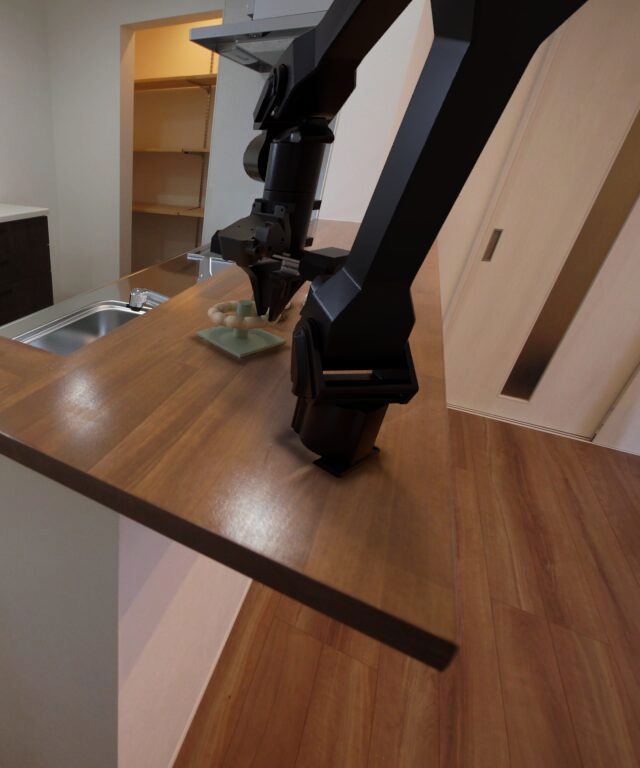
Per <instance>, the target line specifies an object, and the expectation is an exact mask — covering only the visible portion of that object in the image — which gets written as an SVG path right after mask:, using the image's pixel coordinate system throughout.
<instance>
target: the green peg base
mask: <svg viewBox="0 0 640 768" xmlns="http://www.w3.org/2000/svg"><path fill="white" fill-rule="evenodd" d="M237 301H238V305H237V312H235V313H236V314H235V316H239V317H251V312H252V306H253V302H251V300H248V299H240V300H237ZM195 335H196V336H197V337H200V338H202V339H203V340H205V341H207V342H209V343H211V344H213V345H215V346H217V347H219V348H221V349H222V350H224V351H226V352H228V353H230V354H232V355H234V356H236V357H238V358H239V359H240V358H244V357H247V356H249V355H253V354H255V353H256V354H257V353H260V352H262V351H265V350H268V349H273V348H275V347H278V346H281V345H284V344H286V343H287V340H286V339H285V338H283V337H280V336H278V335H276V334H274V333H271V332H269V331H267V330H264V329H263V328H262V329H236V328H228V327H224V326H221V325H217V326H212V327H208V328H205V329H201V330H197V331H195Z"/></svg>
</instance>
